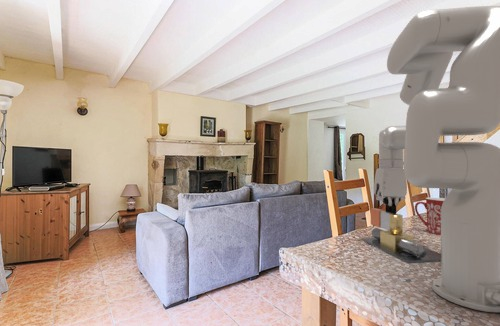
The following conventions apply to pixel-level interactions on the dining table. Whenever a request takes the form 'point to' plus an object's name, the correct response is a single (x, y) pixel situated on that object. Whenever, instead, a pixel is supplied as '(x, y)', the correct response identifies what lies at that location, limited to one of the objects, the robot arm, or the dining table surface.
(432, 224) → the mug
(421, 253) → the valve
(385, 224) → the lever
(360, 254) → the dining table surface
